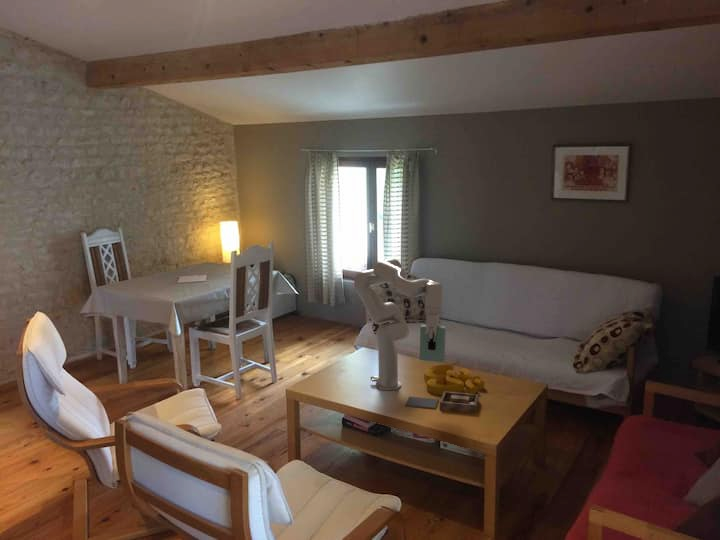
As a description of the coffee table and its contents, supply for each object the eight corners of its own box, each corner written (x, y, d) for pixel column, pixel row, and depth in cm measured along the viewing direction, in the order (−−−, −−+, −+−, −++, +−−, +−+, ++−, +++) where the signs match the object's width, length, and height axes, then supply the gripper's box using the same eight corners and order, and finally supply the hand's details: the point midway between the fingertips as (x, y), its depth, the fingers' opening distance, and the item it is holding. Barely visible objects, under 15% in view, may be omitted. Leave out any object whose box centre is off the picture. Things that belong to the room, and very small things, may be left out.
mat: (404, 406, 279) (404, 404, 279) (409, 397, 289) (409, 396, 289) (435, 409, 275) (435, 407, 275) (438, 400, 285) (438, 399, 285)
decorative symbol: (426, 363, 321) (484, 366, 315) (426, 372, 322) (484, 375, 316) (420, 384, 292) (484, 387, 286) (420, 394, 293) (484, 398, 287)
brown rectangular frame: (439, 409, 275) (439, 402, 274) (443, 398, 287) (443, 391, 286) (475, 413, 271) (475, 405, 270) (478, 401, 283) (478, 394, 282)
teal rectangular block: (419, 359, 278) (420, 326, 275) (420, 357, 281) (421, 324, 278) (443, 362, 276) (444, 328, 272) (444, 359, 279) (445, 326, 275)
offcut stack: (449, 408, 277) (449, 397, 276) (450, 405, 280) (450, 394, 279) (474, 410, 274) (474, 400, 273) (474, 407, 277) (474, 397, 276)
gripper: (427, 304, 282) (426, 341, 286) (422, 313, 267) (421, 353, 270) (443, 305, 280) (442, 343, 284) (439, 315, 265) (438, 355, 269)
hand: (432, 347), depth 277 cm, fingers closed on teal rectangular block, 3 cm apart
